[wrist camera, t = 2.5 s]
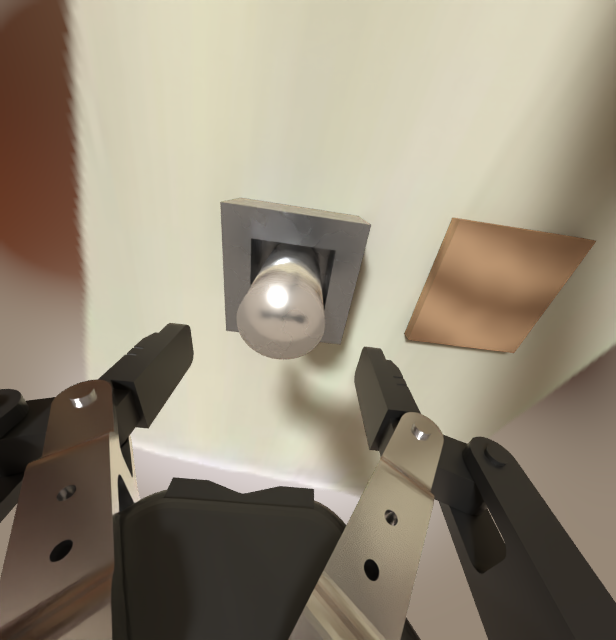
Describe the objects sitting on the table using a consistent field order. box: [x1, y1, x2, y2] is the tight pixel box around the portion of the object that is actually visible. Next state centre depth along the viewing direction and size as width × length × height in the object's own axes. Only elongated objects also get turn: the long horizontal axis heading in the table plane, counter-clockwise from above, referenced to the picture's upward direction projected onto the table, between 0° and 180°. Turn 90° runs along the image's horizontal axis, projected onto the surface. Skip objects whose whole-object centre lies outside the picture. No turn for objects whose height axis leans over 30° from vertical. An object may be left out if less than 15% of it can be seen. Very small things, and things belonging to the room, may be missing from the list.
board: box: [404, 218, 596, 353], centre depth 23 cm, size 12×12×1 cm
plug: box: [236, 243, 325, 359], centre depth 17 cm, size 5×5×10 cm
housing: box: [220, 198, 371, 344], centre depth 20 cm, size 10×10×5 cm
